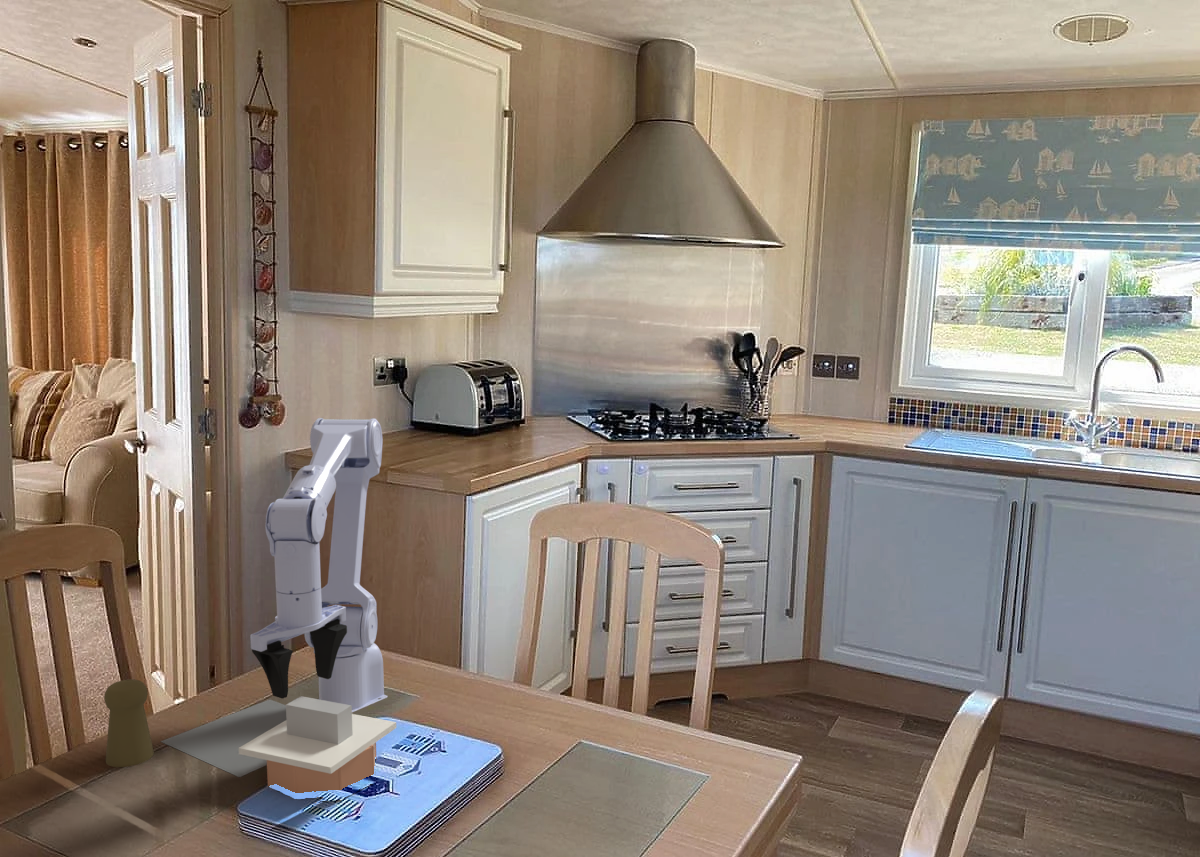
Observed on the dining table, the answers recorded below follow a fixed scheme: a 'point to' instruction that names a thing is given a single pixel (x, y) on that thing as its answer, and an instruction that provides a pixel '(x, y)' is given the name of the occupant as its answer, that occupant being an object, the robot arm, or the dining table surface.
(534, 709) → the dining table surface
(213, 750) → the mat
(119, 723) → the cork
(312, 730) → the lid
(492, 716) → the dining table surface
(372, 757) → the octagonal ring
